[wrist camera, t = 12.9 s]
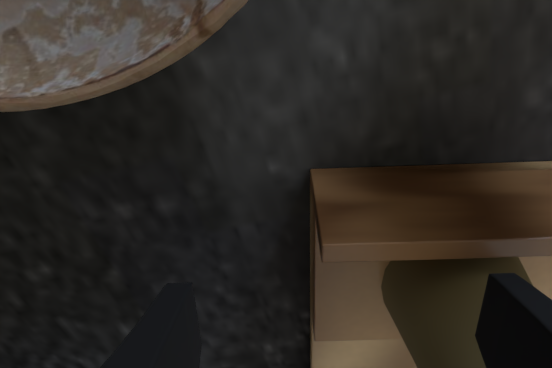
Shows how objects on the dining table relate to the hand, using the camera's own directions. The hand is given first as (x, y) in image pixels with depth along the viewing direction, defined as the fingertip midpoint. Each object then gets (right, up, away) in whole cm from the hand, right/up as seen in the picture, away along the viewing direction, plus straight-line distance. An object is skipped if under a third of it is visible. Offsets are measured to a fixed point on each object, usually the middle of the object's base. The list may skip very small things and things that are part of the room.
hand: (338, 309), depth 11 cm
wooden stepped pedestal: (+6, -3, +13) cm, 15 cm away
